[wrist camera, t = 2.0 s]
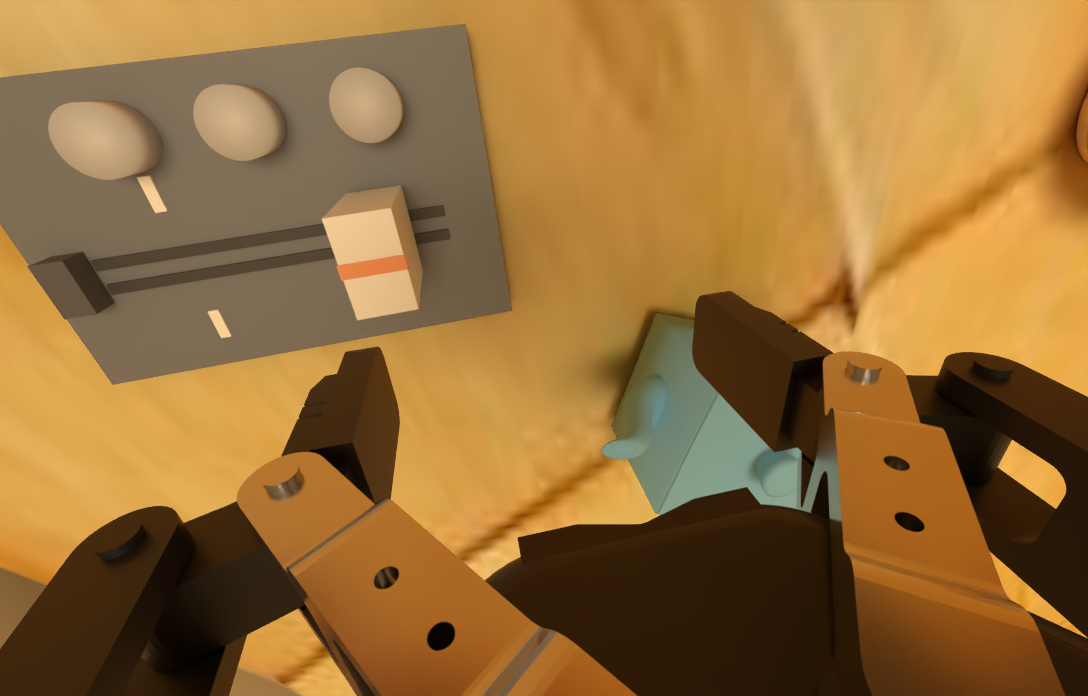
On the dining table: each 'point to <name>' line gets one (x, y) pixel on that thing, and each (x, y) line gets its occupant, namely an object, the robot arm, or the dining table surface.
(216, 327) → the console
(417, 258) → the block
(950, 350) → the dining table surface
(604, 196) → the dining table surface
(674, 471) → the teapot
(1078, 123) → the vase
